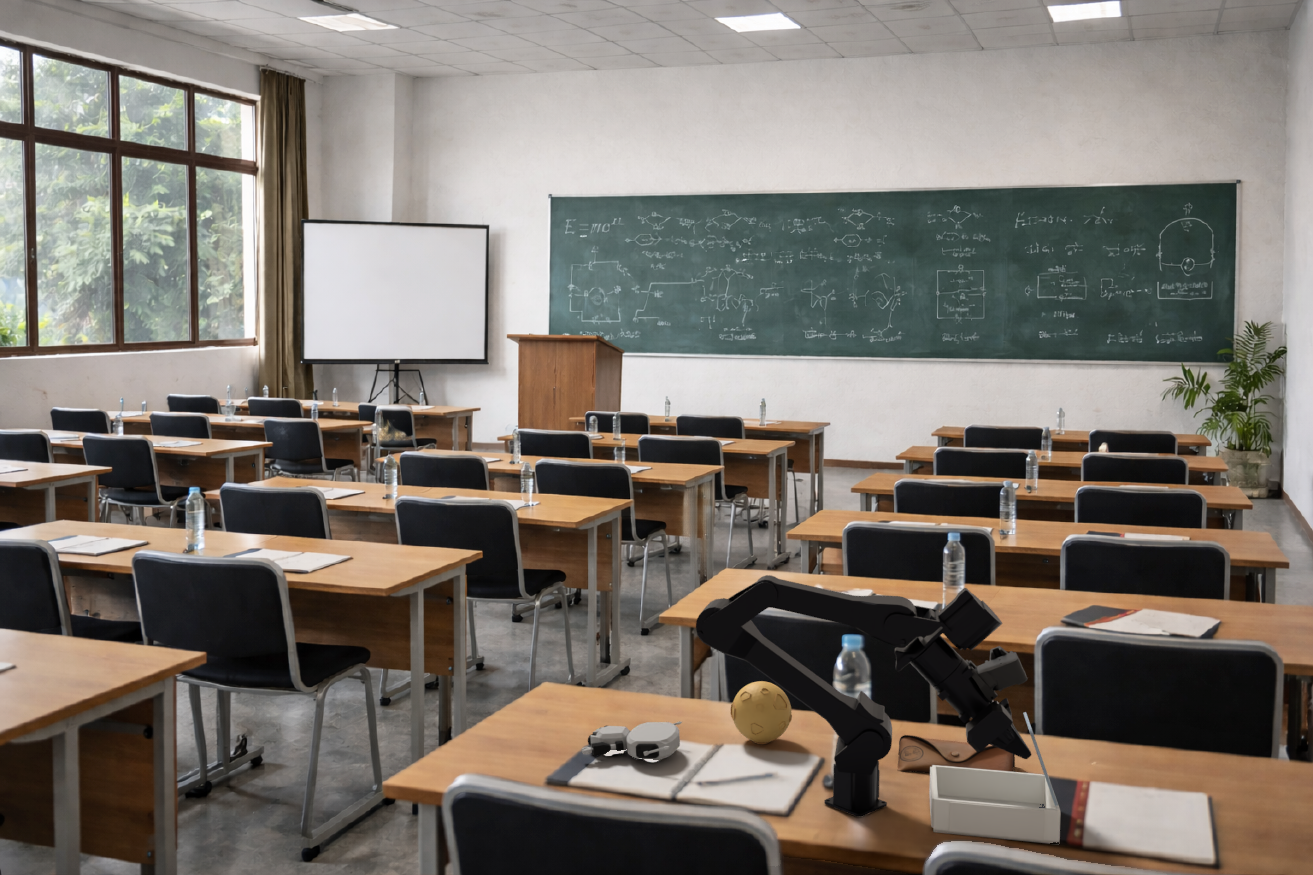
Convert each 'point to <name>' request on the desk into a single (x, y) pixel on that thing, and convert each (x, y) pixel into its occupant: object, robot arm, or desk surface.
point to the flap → (1040, 759)
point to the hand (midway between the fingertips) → (1028, 756)
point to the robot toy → (636, 740)
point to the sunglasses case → (949, 755)
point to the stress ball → (761, 712)
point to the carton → (993, 804)
